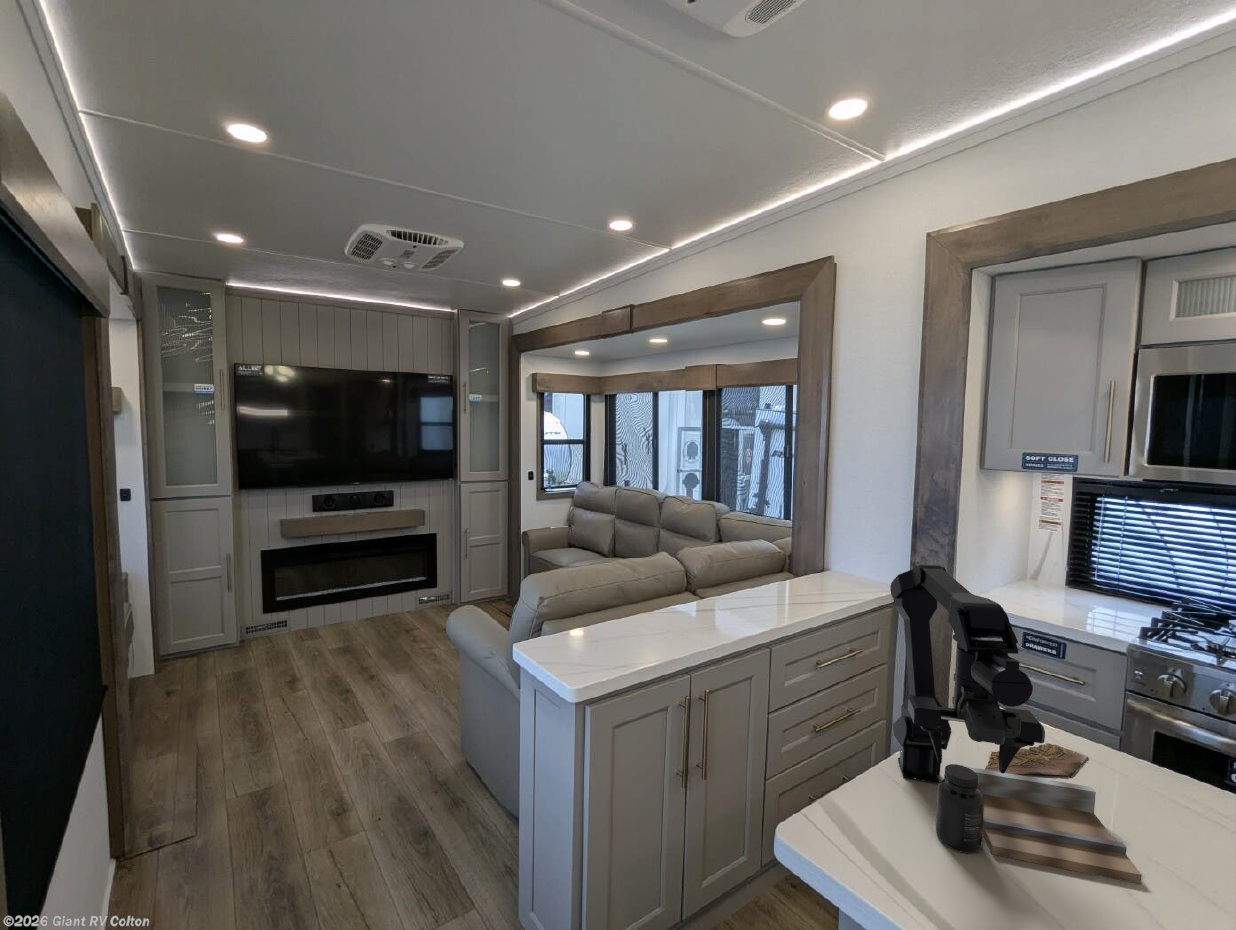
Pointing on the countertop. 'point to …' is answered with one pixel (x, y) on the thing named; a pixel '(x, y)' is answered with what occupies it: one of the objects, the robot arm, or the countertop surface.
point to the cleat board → (1050, 825)
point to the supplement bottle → (960, 809)
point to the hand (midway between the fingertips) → (970, 767)
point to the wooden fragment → (1040, 761)
